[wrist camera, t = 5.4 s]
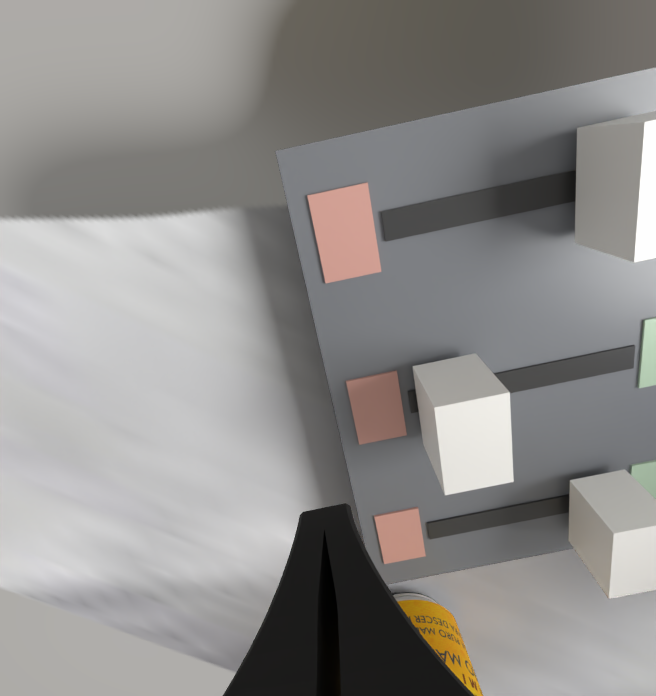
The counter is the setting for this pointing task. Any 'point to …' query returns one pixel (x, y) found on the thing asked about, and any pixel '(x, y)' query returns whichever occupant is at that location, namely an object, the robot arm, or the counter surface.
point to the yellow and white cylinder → (440, 635)
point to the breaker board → (475, 317)
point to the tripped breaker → (465, 423)
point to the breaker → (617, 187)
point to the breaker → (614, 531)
